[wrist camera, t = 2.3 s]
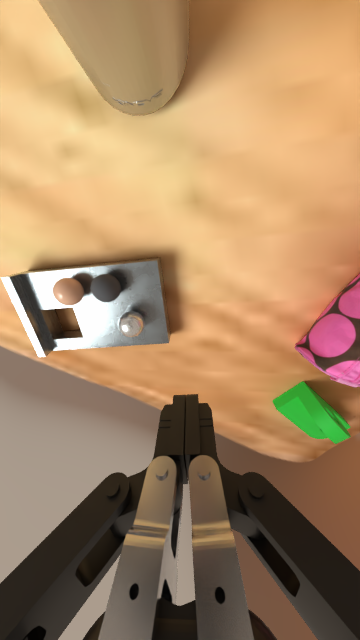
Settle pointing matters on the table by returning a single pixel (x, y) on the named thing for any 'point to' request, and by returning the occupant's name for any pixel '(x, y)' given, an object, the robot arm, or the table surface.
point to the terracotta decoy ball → (68, 291)
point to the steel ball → (131, 324)
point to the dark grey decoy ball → (105, 288)
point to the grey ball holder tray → (91, 306)
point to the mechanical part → (312, 414)
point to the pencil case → (337, 338)
